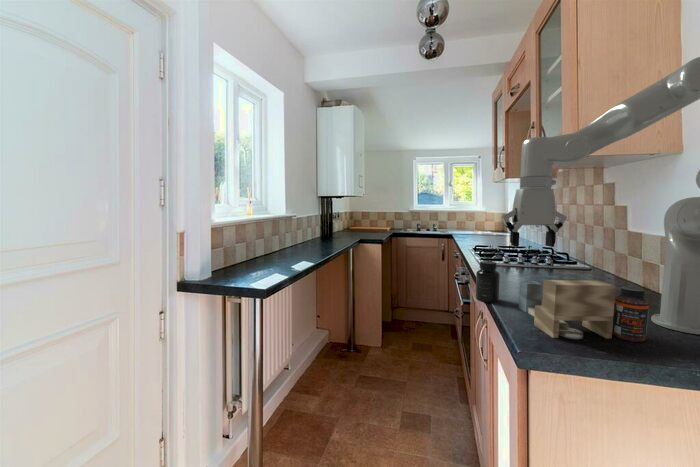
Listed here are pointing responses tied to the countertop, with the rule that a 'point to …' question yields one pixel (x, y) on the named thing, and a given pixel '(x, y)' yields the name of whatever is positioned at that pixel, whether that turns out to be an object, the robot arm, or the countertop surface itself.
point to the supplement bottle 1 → (487, 282)
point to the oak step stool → (576, 306)
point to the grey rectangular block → (532, 298)
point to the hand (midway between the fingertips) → (532, 246)
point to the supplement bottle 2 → (630, 315)
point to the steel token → (570, 333)
